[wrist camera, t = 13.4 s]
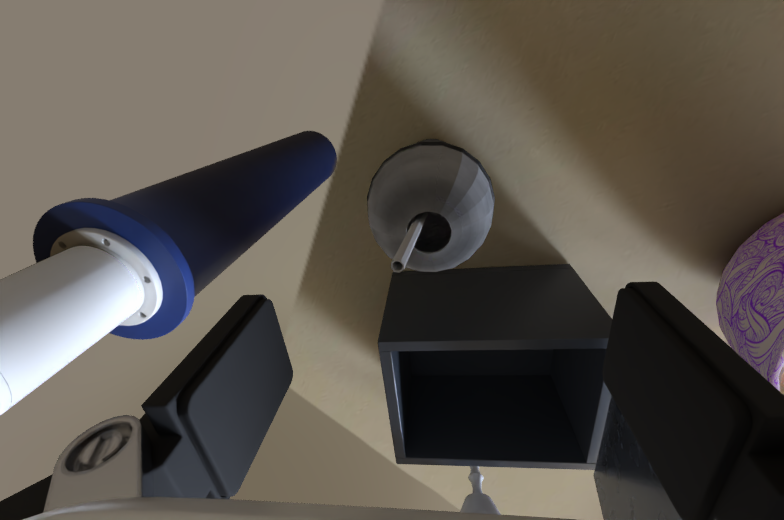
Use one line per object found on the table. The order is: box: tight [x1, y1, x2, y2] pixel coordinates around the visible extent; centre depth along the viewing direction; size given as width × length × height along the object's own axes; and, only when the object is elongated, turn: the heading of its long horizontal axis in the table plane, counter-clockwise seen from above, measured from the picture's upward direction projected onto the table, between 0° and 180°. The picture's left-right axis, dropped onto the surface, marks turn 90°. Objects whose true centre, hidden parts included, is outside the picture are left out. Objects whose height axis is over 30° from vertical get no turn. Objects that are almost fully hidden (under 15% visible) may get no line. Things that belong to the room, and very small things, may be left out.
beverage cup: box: [367, 139, 495, 273], centre depth 21 cm, size 7×7×20 cm
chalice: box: [460, 466, 501, 515], centre depth 36 cm, size 7×7×18 cm
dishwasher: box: [378, 264, 612, 470], centre depth 32 cm, size 17×14×11 cm
